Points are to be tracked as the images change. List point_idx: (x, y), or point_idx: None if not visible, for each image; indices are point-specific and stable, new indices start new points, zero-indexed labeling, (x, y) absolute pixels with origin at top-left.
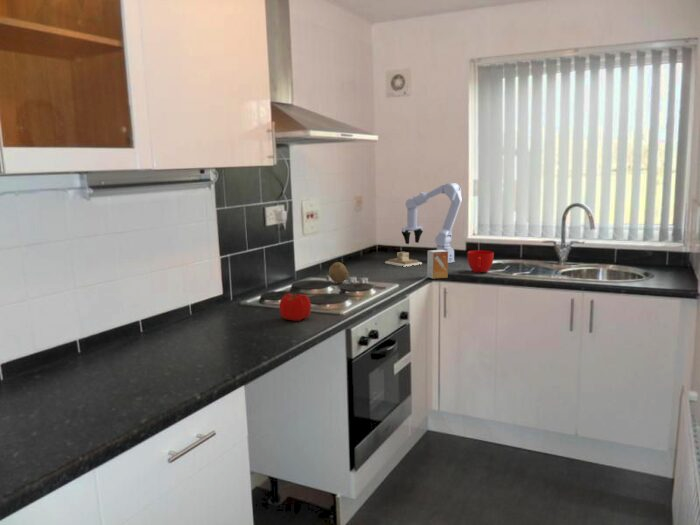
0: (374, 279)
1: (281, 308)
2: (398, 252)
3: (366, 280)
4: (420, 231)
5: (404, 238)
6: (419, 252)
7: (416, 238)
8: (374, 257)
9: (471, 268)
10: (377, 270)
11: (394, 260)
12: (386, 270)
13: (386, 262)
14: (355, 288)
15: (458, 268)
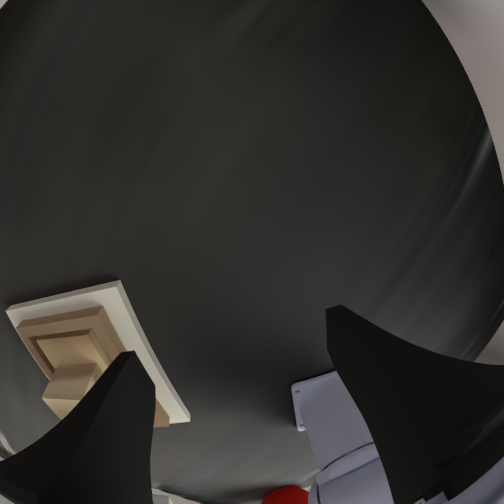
0: (18, 449)
1: None
2: (48, 401)
3: (7, 444)
4: (399, 502)
5: (79, 406)
6: (434, 29)
7: (355, 369)
8: (23, 49)
9: (263, 500)
10: (3, 401)
11: (43, 369)
12: (28, 417)
13: (13, 319)
14: (6, 457)
15: (269, 474)
